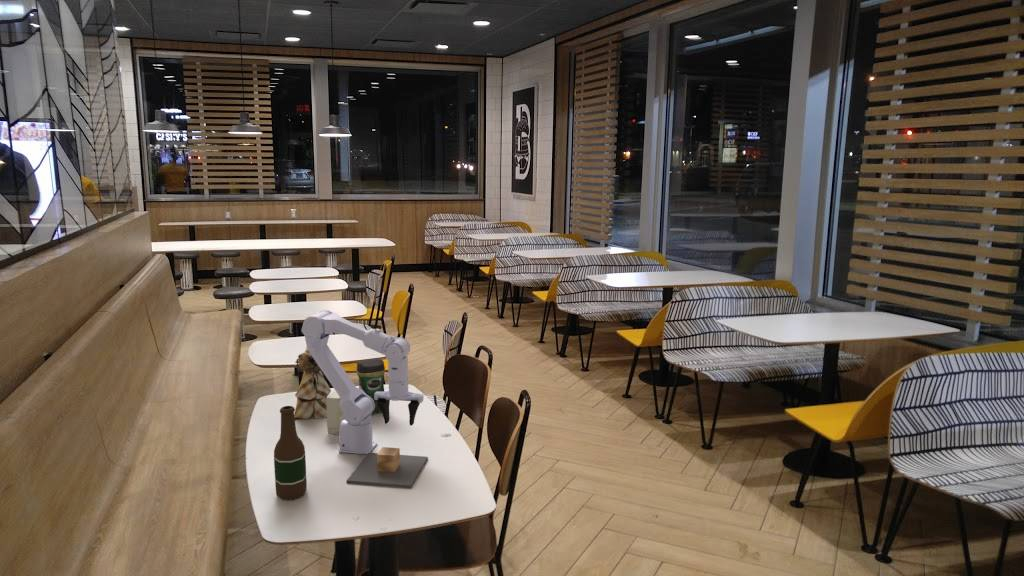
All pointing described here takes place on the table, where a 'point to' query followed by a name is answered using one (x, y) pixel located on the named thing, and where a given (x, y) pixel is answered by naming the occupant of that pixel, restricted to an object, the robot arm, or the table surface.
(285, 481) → the beer bottle
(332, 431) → the skincare box
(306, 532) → the table surface
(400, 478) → the charcoal mat
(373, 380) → the coffee jar
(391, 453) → the oak cube
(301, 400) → the plush toy
